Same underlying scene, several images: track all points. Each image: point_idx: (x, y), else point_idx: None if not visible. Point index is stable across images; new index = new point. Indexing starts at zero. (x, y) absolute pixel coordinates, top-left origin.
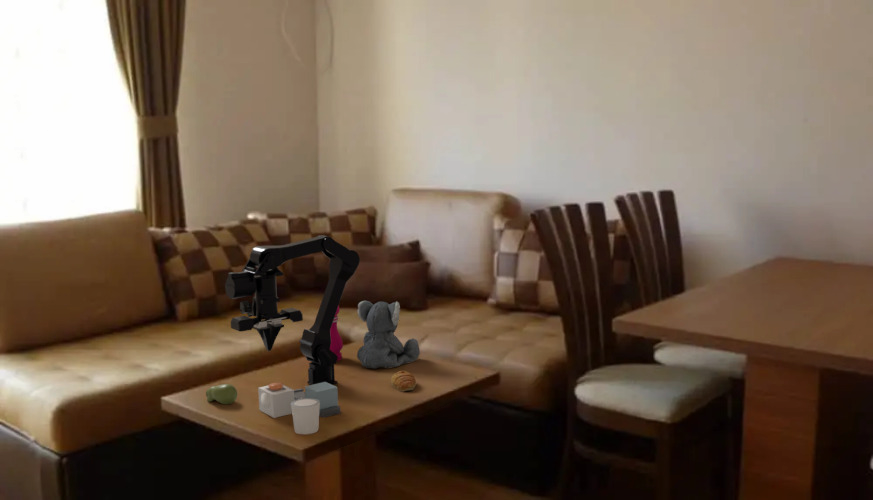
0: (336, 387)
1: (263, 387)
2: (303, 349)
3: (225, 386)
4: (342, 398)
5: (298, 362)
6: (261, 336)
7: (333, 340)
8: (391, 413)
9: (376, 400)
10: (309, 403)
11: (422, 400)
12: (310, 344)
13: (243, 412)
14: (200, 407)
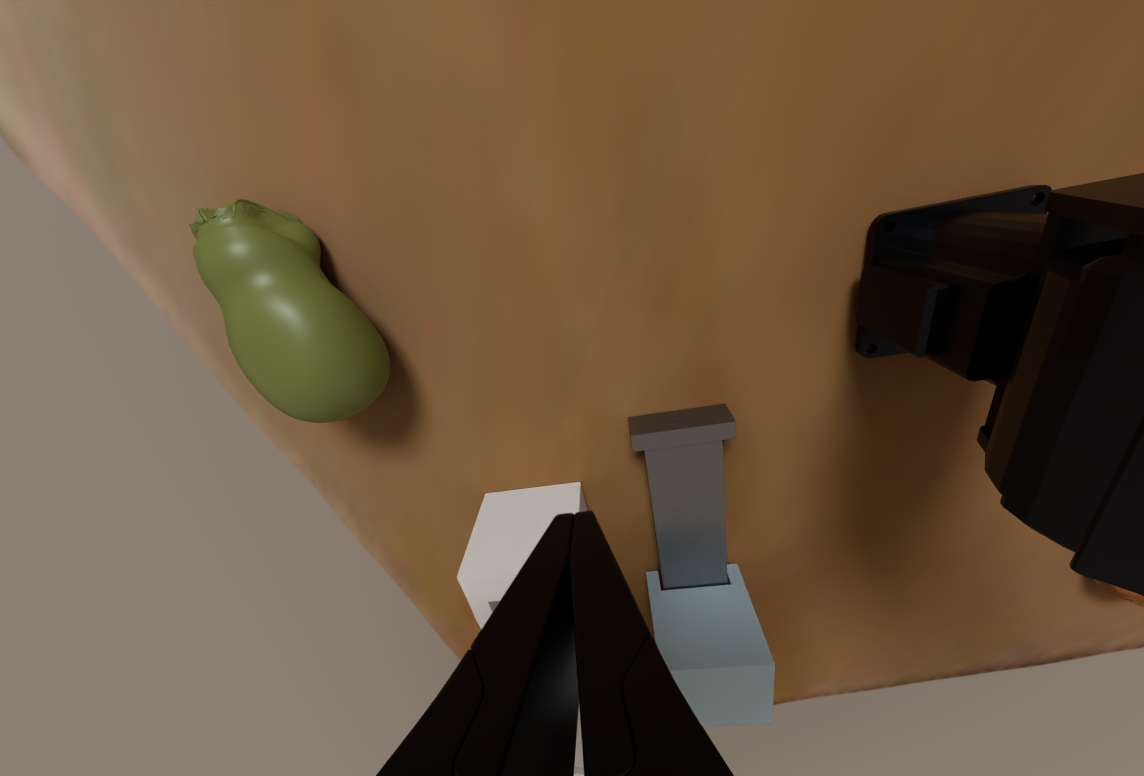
0: (767, 722)
1: (482, 586)
2: (1068, 359)
3: (288, 408)
4: (840, 526)
5: None
6: (445, 721)
7: None
8: (859, 688)
9: (922, 596)
10: None
11: (1038, 656)
12: (1115, 565)
13: (420, 486)
14: (222, 337)
